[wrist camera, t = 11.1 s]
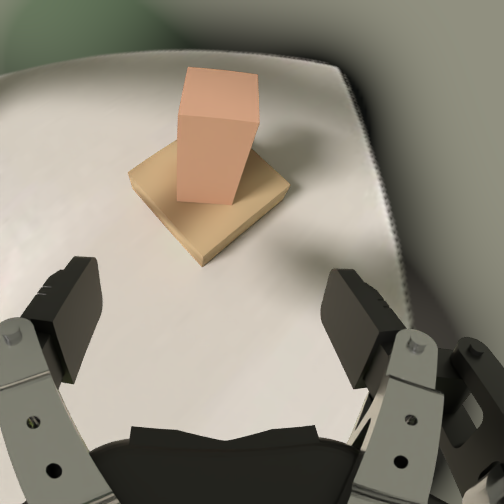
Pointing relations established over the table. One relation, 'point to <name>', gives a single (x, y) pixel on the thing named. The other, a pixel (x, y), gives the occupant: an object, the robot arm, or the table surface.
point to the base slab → (204, 214)
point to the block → (215, 133)
